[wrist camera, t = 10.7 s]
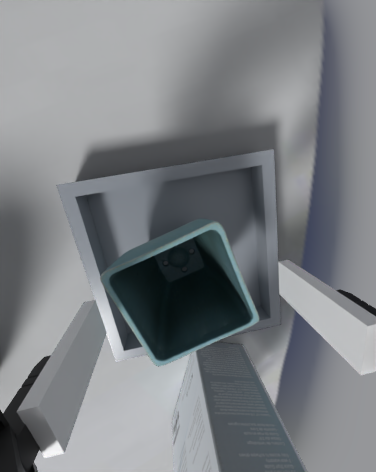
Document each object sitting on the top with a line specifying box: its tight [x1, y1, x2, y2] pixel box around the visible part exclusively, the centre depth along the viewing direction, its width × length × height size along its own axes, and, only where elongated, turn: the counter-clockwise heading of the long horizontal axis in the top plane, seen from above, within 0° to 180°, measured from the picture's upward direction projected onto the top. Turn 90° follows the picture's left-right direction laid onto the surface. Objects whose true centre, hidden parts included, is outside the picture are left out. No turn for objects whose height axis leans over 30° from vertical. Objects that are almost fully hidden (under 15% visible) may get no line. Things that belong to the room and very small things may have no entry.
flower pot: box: [100, 219, 259, 366], centre depth 18 cm, size 9×9×9 cm
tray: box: [56, 149, 281, 362], centre depth 22 cm, size 19×19×4 cm
